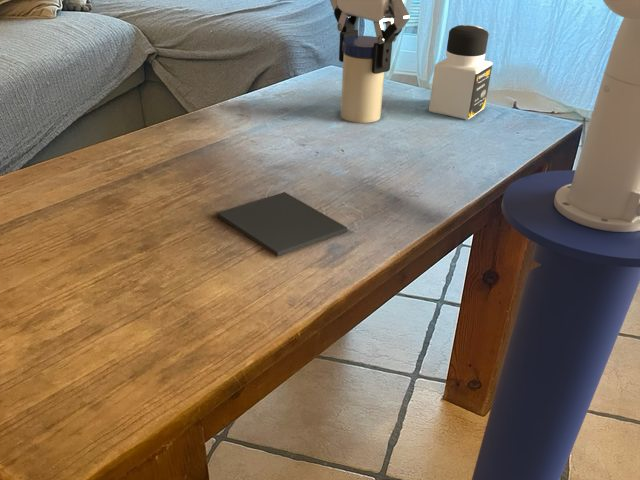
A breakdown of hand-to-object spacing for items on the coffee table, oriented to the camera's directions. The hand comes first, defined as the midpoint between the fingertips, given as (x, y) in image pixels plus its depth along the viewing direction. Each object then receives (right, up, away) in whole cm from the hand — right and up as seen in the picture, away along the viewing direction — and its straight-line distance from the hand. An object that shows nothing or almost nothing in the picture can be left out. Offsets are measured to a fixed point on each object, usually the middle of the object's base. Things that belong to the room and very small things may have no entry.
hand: (363, 65), depth 101 cm
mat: (-11, -31, -24) cm, 41 cm away
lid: (0, +2, -2) cm, 3 cm away
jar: (0, -5, +5) cm, 7 cm away
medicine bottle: (+16, -3, +8) cm, 18 cm away
